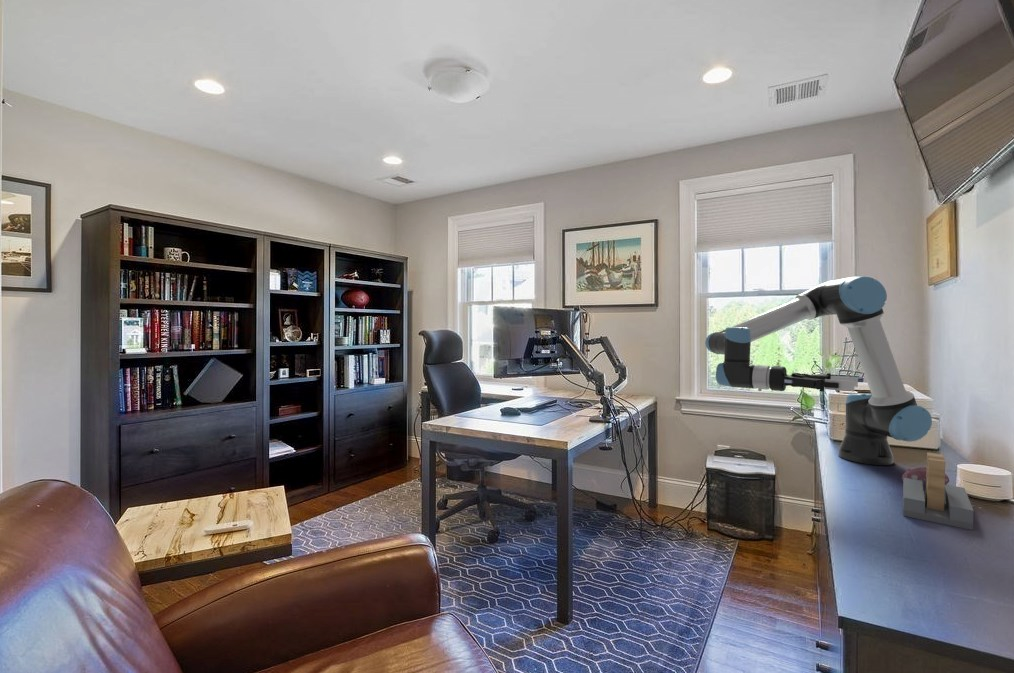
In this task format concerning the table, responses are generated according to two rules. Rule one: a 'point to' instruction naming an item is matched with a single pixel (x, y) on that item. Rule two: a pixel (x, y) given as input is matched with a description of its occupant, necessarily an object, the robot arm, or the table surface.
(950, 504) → the grooved sill
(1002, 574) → the table surface
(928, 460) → the oak plank
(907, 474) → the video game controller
